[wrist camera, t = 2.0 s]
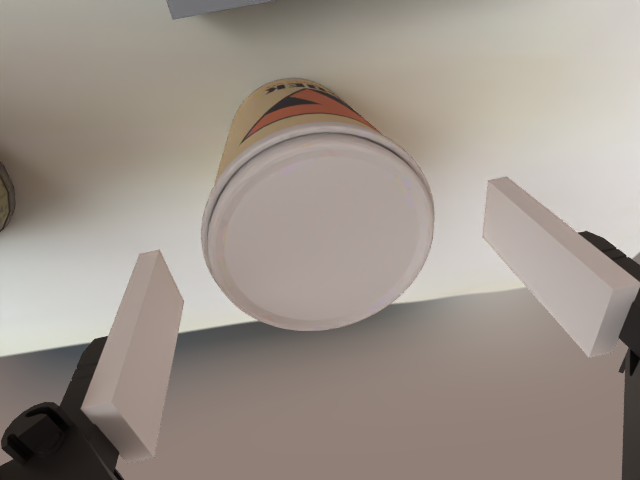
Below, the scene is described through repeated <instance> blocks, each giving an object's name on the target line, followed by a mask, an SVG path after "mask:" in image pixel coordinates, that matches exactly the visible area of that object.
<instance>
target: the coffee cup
mask: <svg viewBox="0 0 640 480" xmlns="http://www.w3.org/2000/svg"><path fill="white" fill-rule="evenodd" d="M433 228H434V204H433V197H432V194H431V190H430V187H429V185H428V182H427V180H426V178H425V176H424V174H423V172H422V171H421V169H420V167H419V166H418V165H417V163H416V162H415V161H414V160H413V158H412V157H411V156H410V155H409V154H408V153H407V152H406V151H405V150H404V149H402V148H401V147H400V146H398V145H397V144H396V143H394V142H393V141H392V140H390V139H388V138H387V137H385V136H383V135H382V134H381V133H380V132H379V131H378V130H376V129H375V128H374V127H373V126H372V125H371V124H369V123H368V122H367V121H366V120H365V119H364V118H363V117H361V116H360V115H359V114H358V113H357V112H356V111H354V110H353V109H352V108H351V107H350V106H348V105H347V104H346V103H345V102H344V101H342V100H341V99H340V98H339V97H338V96H336V95H335V94H334V93H332V92H331V91H329V90H328V89H327V88H325V87H323V86H321V85H319V84H317V83H314V82H311V81H308V80H303V79H294V78H290V79H281V80H276V81H273V82H270V83H267V84H265V85H263V86H261V87H260V88H258V89H257V90H255V91H254V92H253V93H252V94H250V95H249V96H248V97H247V98H246V99H245V100H244V102H243V103H242V104H241V106H240V107H239V109H238V111H237V113H236V115H235V117H234V119H233V122H232V125H231V127H230V131H229V134H228V138H227V141H226V145H225V148H224V152H223V155H222V159H221V162H220V166H219V170H218V173H217V177H216V181H215V185H214V187H213V189H212V191H211V194H210V196H209V199H208V201H207V204H206V207H205V211H204V215H203V220H202V228H201V240H202V248H203V254H204V258H205V261H206V264H207V267H208V269H209V271H210V273H211V275H212V277H213V278H214V280H215V282H216V283H217V284H218V286H219V287H220V288H221V290H222V291H223V292H224V294H225V295H226V296H227V297H228V298H229V299H230V301H231V302H232V303H233V304H234V305H236V306H237V307H238V308H239V309H241V310H242V311H243V312H245V313H246V314H248V315H249V316H251V317H253V318H255V319H257V320H259V321H261V322H264V323H267V324H270V325H273V326H276V327H279V328H284V329H290V330H299V331H317V330H327V329H334V328H339V327H343V326H346V325H349V324H352V323H355V322H358V321H361V320H363V319H365V318H367V317H369V316H371V315H373V314H375V313H377V312H379V311H380V310H382V309H383V308H385V307H386V306H388V305H389V304H390V303H392V302H393V301H394V300H396V299H397V298H398V297H399V296H400V295H401V294H402V293H403V292H404V291H405V290H406V289H407V288H408V287H409V286H410V285H411V283H412V282H413V281H414V279H415V278H416V277H417V275H418V273H419V272H420V270H421V269H422V267H423V265H424V263H425V261H426V259H427V256H428V253H429V251H430V247H431V243H432V239H433Z"/></svg>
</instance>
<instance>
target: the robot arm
mask: <svg viewBox="0 0 640 480" xmlns="http://www.w3.org/2000/svg"><path fill="white" fill-rule="evenodd" d="M483 238H484V239H485V240H486V242H487V243H488V244H489V245H490V246H491V247H492V248H493V250H494V251H495V252H496V253H497V254H498V255H499V256H500V257H501V259H502V260H503V261H504V262H505V263H506V264H507V265H508V266H509V268H510V269H511V270H512V271H513V272H514V273H515V274H516V276H517V277H518V278H519V279H520V280H521V281H522V282H523V283H524V285H525V286H526V287H527V288H528V289H529V290H530V291H531V293H532V294H533V295H534V296H535V297H536V298H537V299H538V300H539V301H540V303H541V304H542V305H543V306H544V307H545V308H546V309H547V310H548V312H549V313H550V314H551V315H552V316H553V317H554V319H556V321H557V322H558V323H559V324H560V325H561V326H562V327H563V329H564V330H565V331H566V332H567V333H568V334H569V335H570V336H571V338H572V339H573V340H574V341H575V342H576V343H577V344H578V346H579V347H580V348H581V349H582V350H583V351H584V352H585V353H586V355H587V356H588V357H589V358H590V357H594V356H599V355H603V354H607V353H612V352H614V349H615V347H616V345H617V342H618V340H619V338H620V339H621V340H622V341H623V342H624V343H625V344H626V345H627V346H628V347H629V349H628V351H627V353H626V355H625V358H624V360H623V362H622V365H621V367H620V369H619V372H621V373H623V372H624V370H625V393H624V425H623V460H622V462H623V463H622V480H640V265H639V264H637V263H636V262H635V261H633V260H632V259H631V258H629V257H626V255H625V254H624V253H623V252H621V251H620V250H619V249H618V250H617V249H616V247H615V246H613V245H612V244H611V243H609V242H608V241H607V240H605V239H604V238H602V237H600V236H597V235H595V234H593V233H590V232H588V231H585V232H580V233H577V232H576V231H575V230H573V229H572V228H571V227H569V226H568V225H567V224H566V223H564V222H563V221H562V220H561V219H559V218H558V217H557V216H556V215H554V214H553V213H552V212H551V211H549V210H548V209H547V208H546V207H544V206H543V205H542V204H540V203H539V202H538V201H537V200H535V199H534V198H533V197H532V196H530V195H529V194H528V193H527V192H525V191H524V190H523V189H522V188H520V187H519V186H518V185H516V184H515V183H514V182H513V181H511V180H510V179H509V178H508V177H503V178H498V179H493V180H489V181H488V187H487V197H486V207H485V217H484V227H483ZM183 304H184V300H183V298H182V296H181V294H180V292H179V290H178V288H177V286H176V284H175V281H174V279H173V277H172V275H171V273H170V271H169V269H168V267H167V265H166V262H165V260H164V258H163V256H162V254H161V252H160V250H156V251H151V252H146V253H142V254H139V257H138V260H137V262H136V265H135V267H134V270H133V273H132V275H131V278H130V281H129V283H128V286H127V288H126V291H125V294H124V296H123V299H122V302H121V304H120V307H119V309H118V312H117V315H116V317H115V320H114V323H113V325H112V328H111V330H110V333H109V336H106V337H101V338H97V339H94V340H93V341H92V342H91V344H90V345H89V346H88V347H87V348H86V350H85V351H84V352H83V353H82V356H81V358H80V360H79V363H78V365H77V369H76V370H75V372H74V374H73V377H72V381H71V382H70V384H69V386H68V388H67V391H66V393H65V395H64V397H63V400H62V402H61V404H60V407H59V406H58V405H56V404H55V403H53V402H44V403H41V404H38V405H34V406H33V407H31V408H29V409H28V410H26V411H24V412H23V413H21V414H20V415H19V416H18V417H17V418H16V419H14V420H13V421H12V423H11V424H10V425H9V427H8V428H7V429H6V430H5V433H4V435H3V438H2V440H1V445H2V449H3V450H4V451H5V452H6V453H7V454H9V455H10V456H11V457H12V458H13V460H11V461H9V462H7V463H5V464H3V465H1V466H0V480H124V479H123V477H122V476H121V474H120V473H119V472H118V471H117V470H116V469H115V467H116V463H117V459H118V455H119V454H120V455H121V457H122V458H123V459H124V460H125V461H126V462H127V464H129V463H133V462H138V461H142V460H146V459H151V458H154V456H155V451H156V445H157V440H158V435H159V430H160V425H161V419H162V414H163V408H164V403H165V398H166V393H167V388H168V382H169V378H170V372H171V367H172V362H173V356H174V351H175V346H176V341H177V336H178V331H179V325H180V320H181V315H182V310H183Z"/></svg>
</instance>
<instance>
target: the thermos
mask: <svg viewBox="0 0 640 480" xmlns="http://www.w3.org/2000/svg"><path fill="white" fill-rule="evenodd" d="M14 209H15V197H14V187H13V185H12V182H11V180H10V178H9V176H8V174H7V172H6V170H5V168H4V166H3V165H2V164H1V162H0V231H2V230H3V229H4V228H5V227H6V226H7V224H8V223H9V221H10V219H11V216H12V214H13V211H14Z"/></svg>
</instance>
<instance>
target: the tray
mask: <svg viewBox="0 0 640 480" xmlns="http://www.w3.org/2000/svg"><path fill="white" fill-rule="evenodd" d="M269 1H274V0H167V3H168V6H169V10H170V13H171V16H172V19H173V20H174V19H179V18H185V17H190V16H195V15H201V14H206V13H211V12H216V11H222V10H227V9H232V8H237V7H243V6H248V5H253V4H258V3H264V2H269Z"/></svg>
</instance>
